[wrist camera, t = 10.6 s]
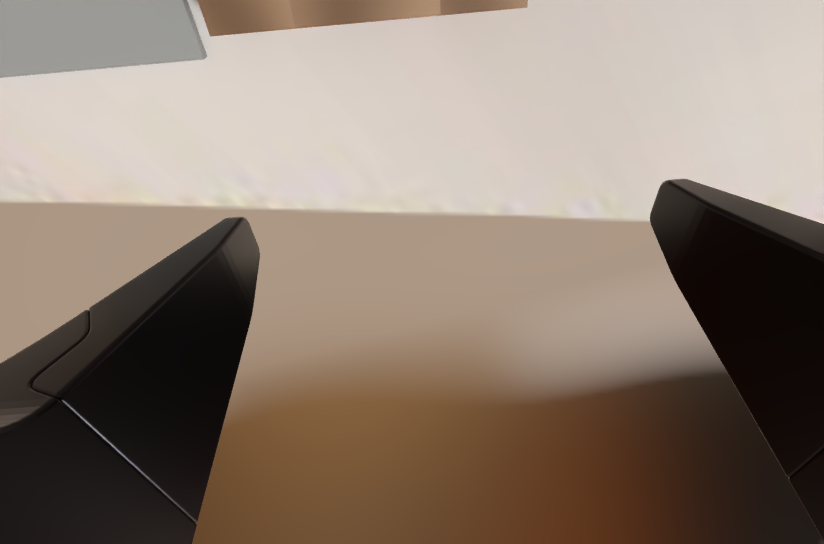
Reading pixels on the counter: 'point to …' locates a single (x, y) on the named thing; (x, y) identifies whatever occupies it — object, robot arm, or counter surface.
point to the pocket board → (329, 12)
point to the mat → (94, 35)
